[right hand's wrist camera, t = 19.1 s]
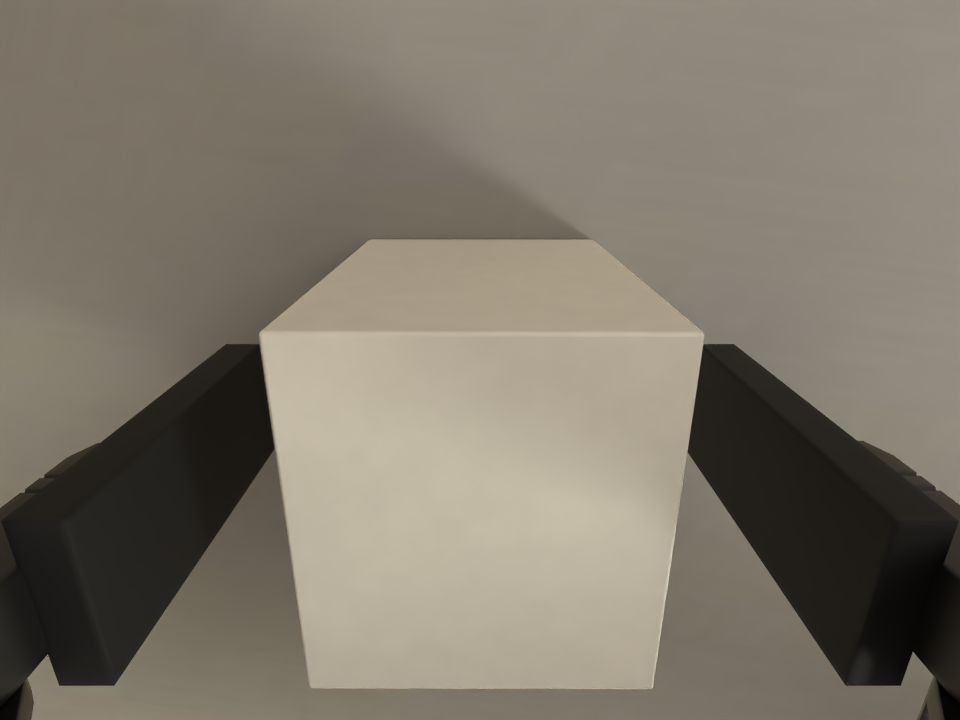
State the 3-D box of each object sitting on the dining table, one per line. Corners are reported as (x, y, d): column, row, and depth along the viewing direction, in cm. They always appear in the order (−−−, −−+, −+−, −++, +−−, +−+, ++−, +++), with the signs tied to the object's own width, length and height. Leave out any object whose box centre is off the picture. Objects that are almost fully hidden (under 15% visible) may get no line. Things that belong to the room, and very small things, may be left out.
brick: (383, 454, 17) (307, 690, 10) (368, 238, 15) (255, 332, 8) (578, 454, 17) (653, 691, 10) (594, 239, 15) (707, 332, 8)
